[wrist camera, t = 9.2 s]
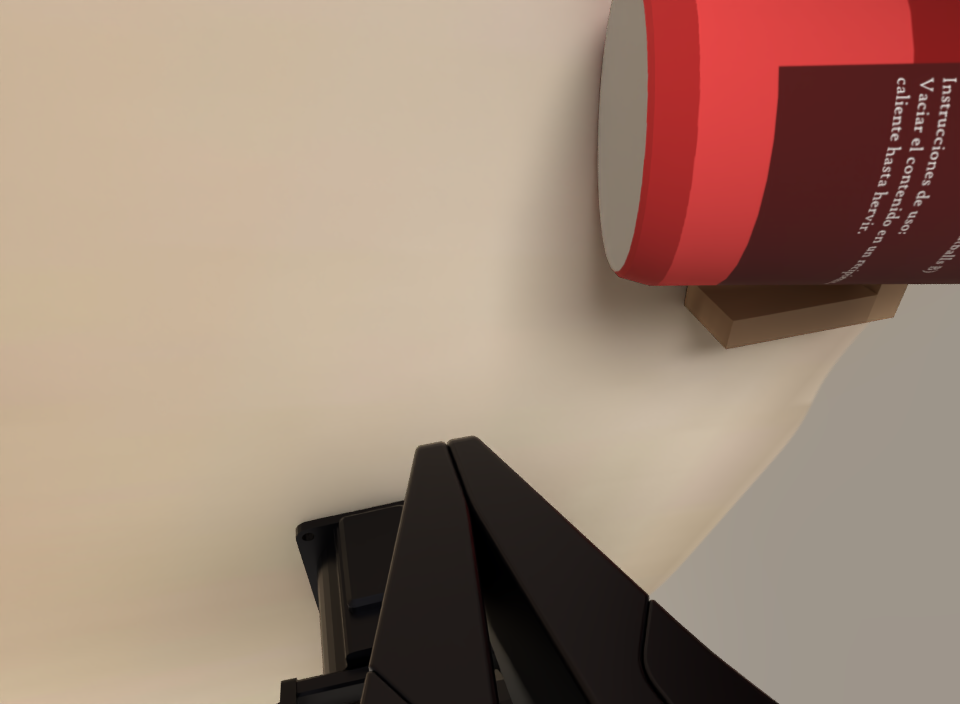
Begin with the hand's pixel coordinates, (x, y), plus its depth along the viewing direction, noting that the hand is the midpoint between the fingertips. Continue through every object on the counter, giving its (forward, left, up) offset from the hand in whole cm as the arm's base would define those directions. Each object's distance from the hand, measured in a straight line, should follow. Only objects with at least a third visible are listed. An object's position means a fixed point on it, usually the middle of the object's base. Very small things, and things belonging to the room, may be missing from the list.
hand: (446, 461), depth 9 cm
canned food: (+1, -6, -9) cm, 11 cm away
